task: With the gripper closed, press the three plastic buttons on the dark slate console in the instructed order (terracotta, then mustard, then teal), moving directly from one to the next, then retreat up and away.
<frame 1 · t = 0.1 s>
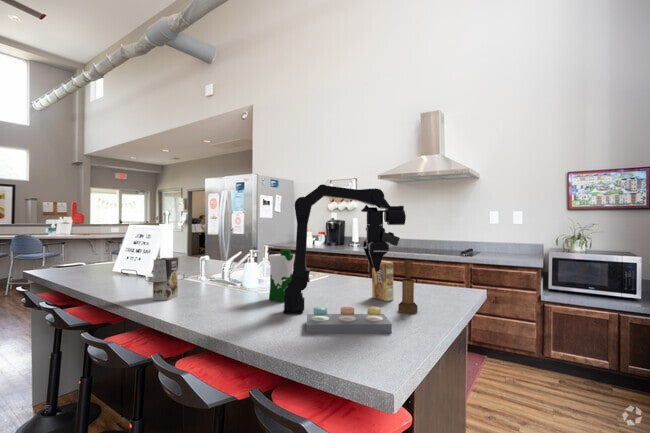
hand: (374, 269, 121), 15 cm above the countertop, fingers open, 9 cm apart
coffee box: (165, 298, 141), on the countertop
button console: (347, 327, 103), on the countertop
candy box: (382, 299, 141), on the countertop
terracotta button: (347, 311, 103), point 5 cm above the countertop, slide at 0.0 cm
brown stepped post: (407, 312, 122), on the countertop
teal button: (320, 311, 103), point 5 cm above the countertop, slide at 0.0 cm
milk carton: (281, 300, 139), on the countertop
mustard button: (374, 310, 103), point 5 cm above the countertop, slide at 0.0 cm
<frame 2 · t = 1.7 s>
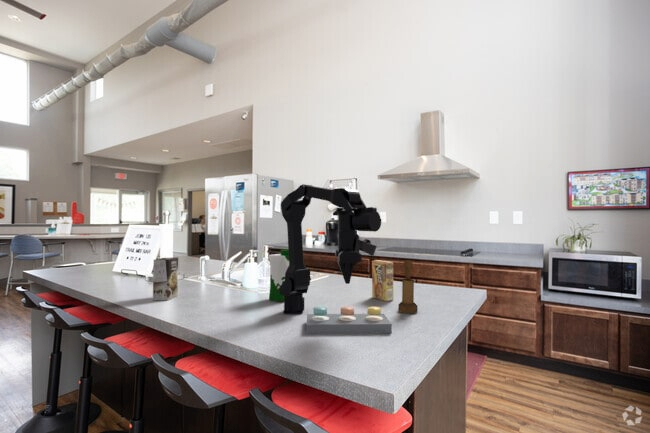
hand: (347, 283, 103), 13 cm above the countertop, fingers closed
nothing on the countertop moved.
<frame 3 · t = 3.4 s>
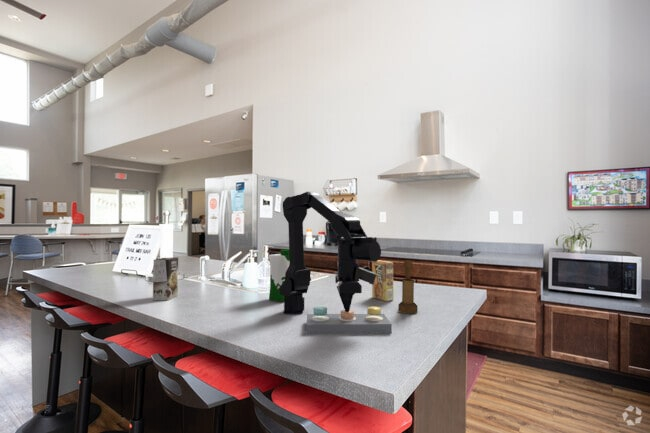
hand: (347, 311, 103), 5 cm above the countertop, fingers closed, pressing on terracotta button
terracotta button: (347, 314, 103), point 4 cm above the countertop, slide at 1.0 cm, touching gripper
everything else where it was.
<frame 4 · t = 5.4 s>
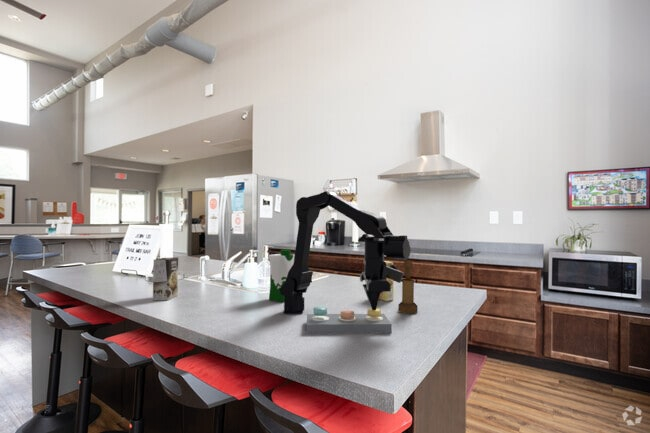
hand: (373, 309, 103), 5 cm above the countertop, fingers closed, pressing on mustard button
terracotta button: (347, 314, 103), point 4 cm above the countertop, slide at 1.1 cm
mustard button: (374, 312, 103), point 4 cm above the countertop, slide at 0.5 cm, touching gripper
everything else where it was.
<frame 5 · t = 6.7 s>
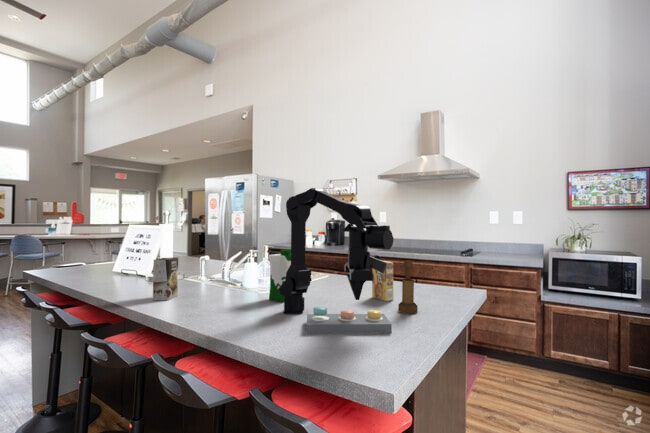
hand: (357, 299, 103), 8 cm above the countertop, fingers closed
mustard button: (374, 314, 103), point 4 cm above the countertop, slide at 1.0 cm
everything else where it was.
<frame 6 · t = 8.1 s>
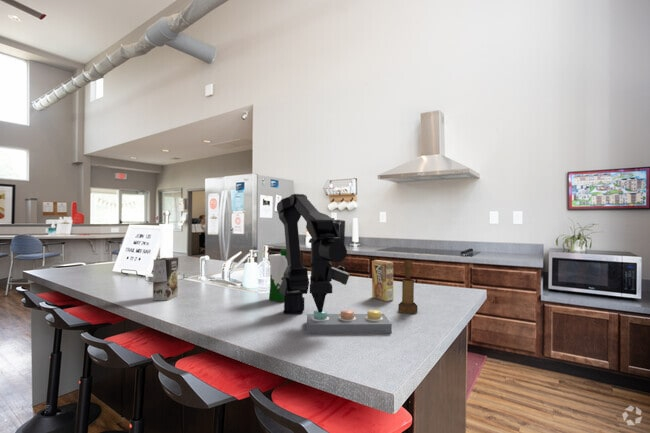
hand: (320, 311, 103), 5 cm above the countertop, fingers closed, pressing on teal button
teal button: (320, 314, 103), point 4 cm above the countertop, slide at 1.0 cm, touching gripper
everything else where it was.
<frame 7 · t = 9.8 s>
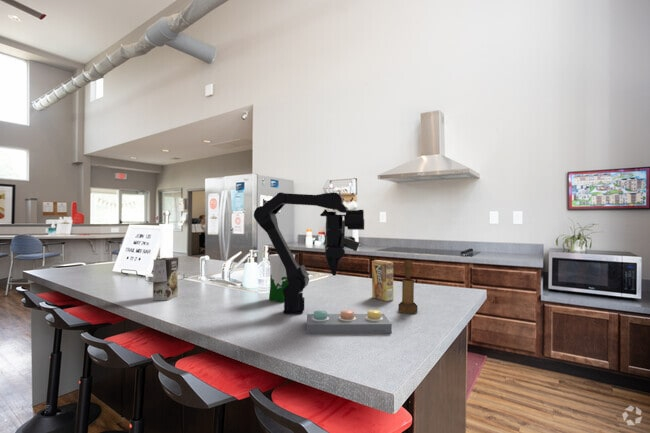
hand: (334, 275, 118), 13 cm above the countertop, fingers closed
teal button: (320, 314, 103), point 4 cm above the countertop, slide at 1.1 cm
everything else where it was.
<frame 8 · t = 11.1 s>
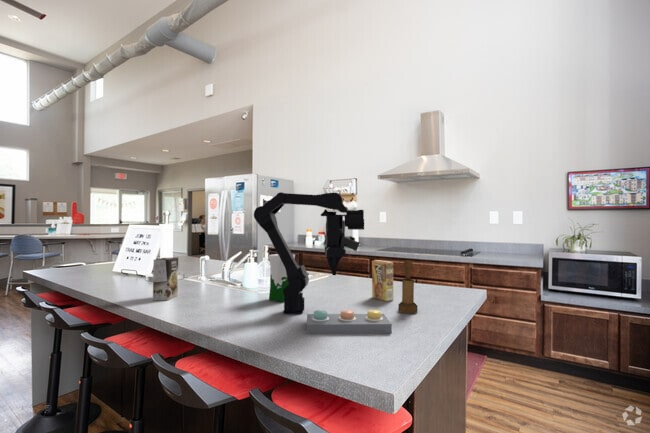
hand: (334, 275, 119), 13 cm above the countertop, fingers closed
nothing on the countertop moved.
at the end: terracotta button slide at 1.1 cm; mustard button slide at 1.0 cm; teal button slide at 1.1 cm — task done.
